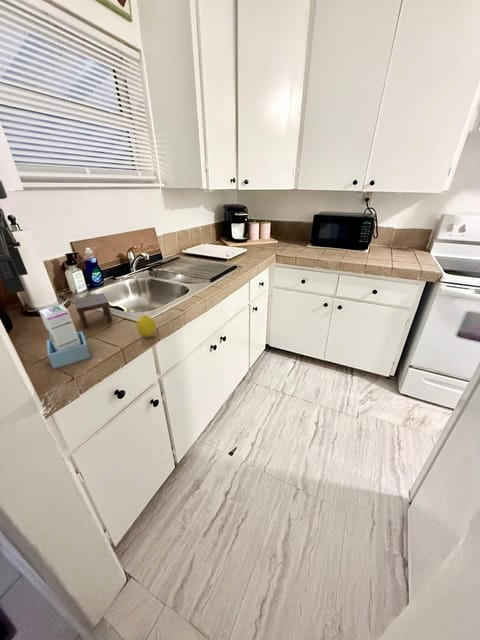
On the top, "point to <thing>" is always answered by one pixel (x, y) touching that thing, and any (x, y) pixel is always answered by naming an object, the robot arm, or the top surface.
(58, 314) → the syrup box
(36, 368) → the top surface
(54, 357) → the bin
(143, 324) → the lemon
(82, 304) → the stool
